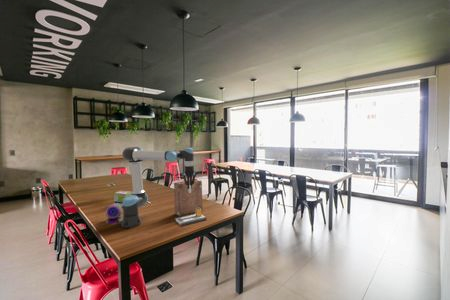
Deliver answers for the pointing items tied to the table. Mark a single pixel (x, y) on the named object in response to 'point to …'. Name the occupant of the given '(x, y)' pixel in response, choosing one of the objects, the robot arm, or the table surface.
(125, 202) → the robot arm
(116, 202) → the tea box
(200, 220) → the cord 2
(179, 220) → the panel
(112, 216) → the webcam
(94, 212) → the table surface
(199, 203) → the book
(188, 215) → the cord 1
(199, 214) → the lever
